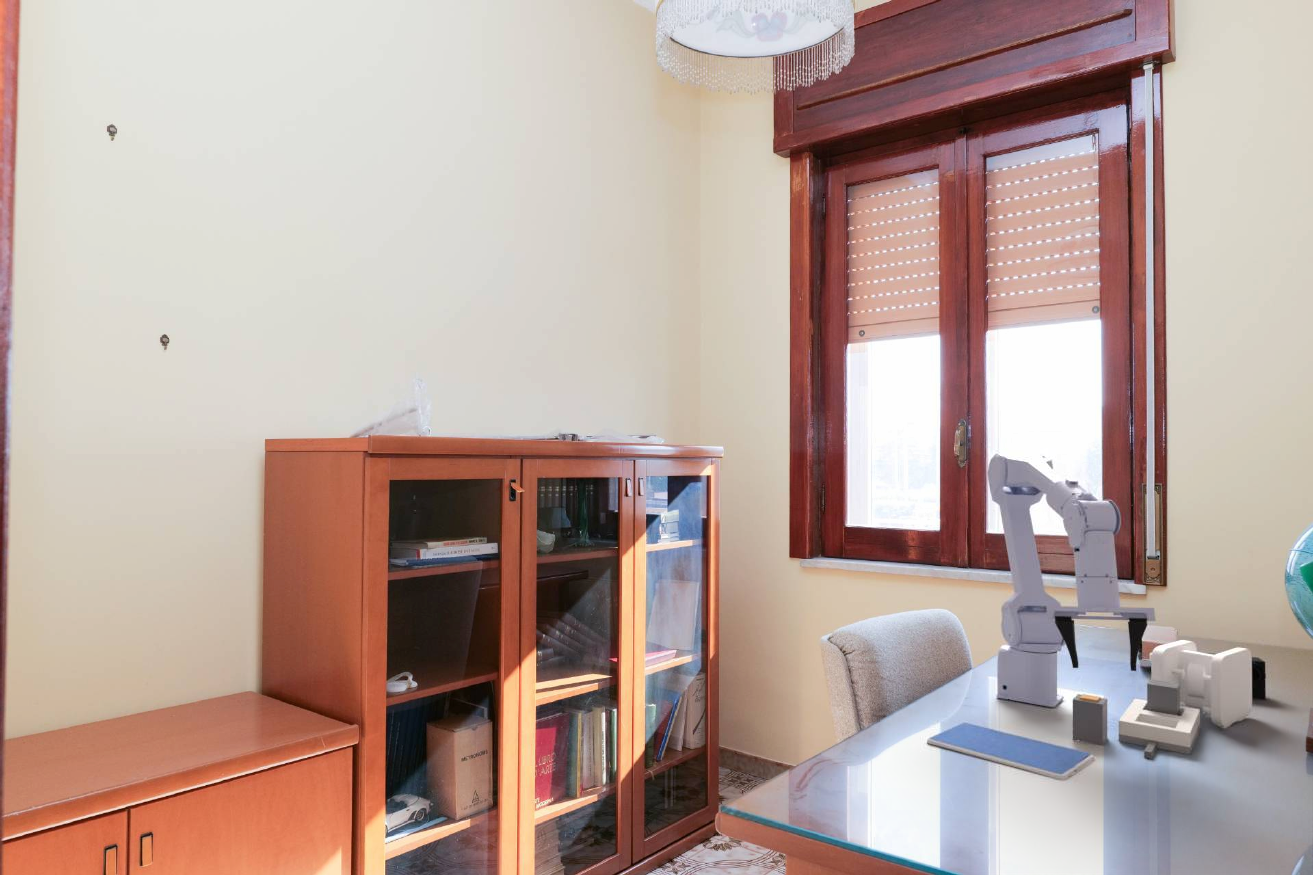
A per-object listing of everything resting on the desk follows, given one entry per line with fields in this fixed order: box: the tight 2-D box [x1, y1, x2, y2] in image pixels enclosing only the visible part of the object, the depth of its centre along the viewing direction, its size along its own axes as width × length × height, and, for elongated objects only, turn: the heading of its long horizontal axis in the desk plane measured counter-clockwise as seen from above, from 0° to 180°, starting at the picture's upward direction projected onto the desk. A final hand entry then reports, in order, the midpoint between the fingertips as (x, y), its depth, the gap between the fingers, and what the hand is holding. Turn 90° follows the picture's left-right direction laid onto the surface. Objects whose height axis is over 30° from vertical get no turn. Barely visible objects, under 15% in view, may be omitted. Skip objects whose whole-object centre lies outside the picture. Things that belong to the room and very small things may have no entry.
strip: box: [1118, 679, 1201, 760], centre depth 124 cm, size 22×9×7 cm, turn 142°
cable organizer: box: [1148, 639, 1253, 729], centre depth 137 cm, size 15×11×12 cm
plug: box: [1072, 693, 1108, 746], centre depth 124 cm, size 4×4×6 cm
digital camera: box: [1205, 652, 1267, 701], centre depth 152 cm, size 10×5×7 cm, turn 69°
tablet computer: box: [926, 722, 1095, 781], centre depth 117 cm, size 19×13×1 cm, turn 44°
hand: (1104, 669), depth 124 cm, fingers open, 7 cm apart
